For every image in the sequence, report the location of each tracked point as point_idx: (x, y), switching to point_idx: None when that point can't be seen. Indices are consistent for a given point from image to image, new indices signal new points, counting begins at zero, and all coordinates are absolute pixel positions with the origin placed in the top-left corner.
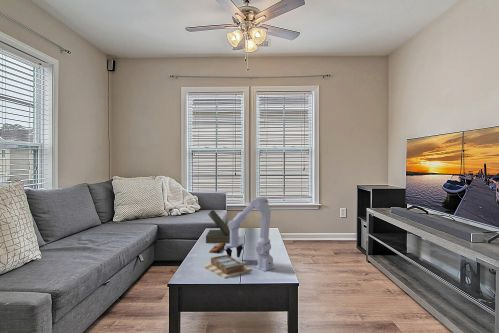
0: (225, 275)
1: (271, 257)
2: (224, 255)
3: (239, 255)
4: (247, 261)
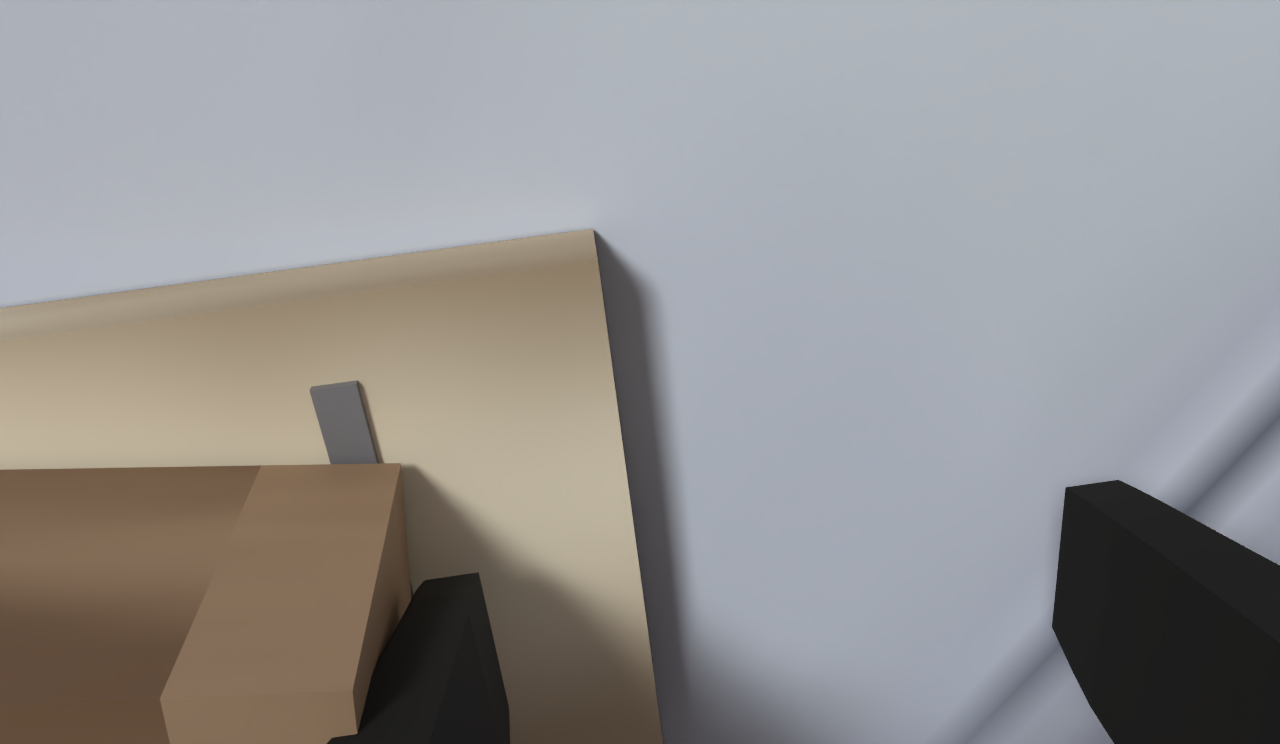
0: None
1: None
2: (51, 742)
3: (1134, 740)
4: None
